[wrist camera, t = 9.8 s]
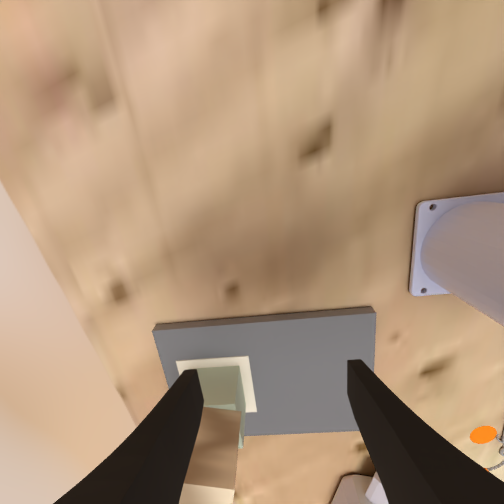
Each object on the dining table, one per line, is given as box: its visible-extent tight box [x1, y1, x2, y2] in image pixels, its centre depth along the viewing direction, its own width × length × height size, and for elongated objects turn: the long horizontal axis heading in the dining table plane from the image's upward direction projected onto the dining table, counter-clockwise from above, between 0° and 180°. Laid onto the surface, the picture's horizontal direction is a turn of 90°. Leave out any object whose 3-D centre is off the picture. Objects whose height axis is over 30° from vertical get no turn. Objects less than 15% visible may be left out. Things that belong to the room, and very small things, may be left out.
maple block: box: [179, 407, 241, 504], centre depth 18 cm, size 5×5×5 cm
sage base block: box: [196, 366, 246, 448], centre depth 22 cm, size 5×5×4 cm
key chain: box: [470, 426, 504, 472], centre depth 26 cm, size 13×7×1 cm, turn 2°
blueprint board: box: [152, 307, 376, 436], centre depth 24 cm, size 20×14×1 cm
